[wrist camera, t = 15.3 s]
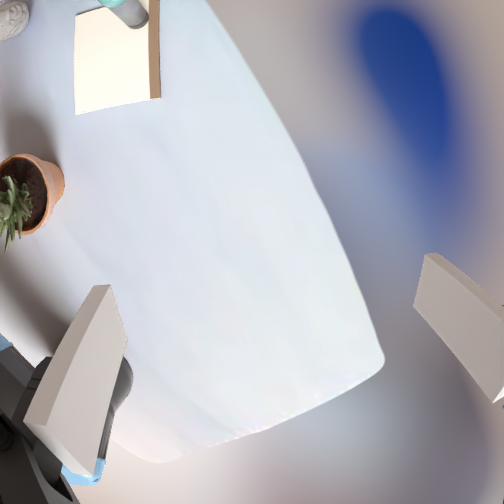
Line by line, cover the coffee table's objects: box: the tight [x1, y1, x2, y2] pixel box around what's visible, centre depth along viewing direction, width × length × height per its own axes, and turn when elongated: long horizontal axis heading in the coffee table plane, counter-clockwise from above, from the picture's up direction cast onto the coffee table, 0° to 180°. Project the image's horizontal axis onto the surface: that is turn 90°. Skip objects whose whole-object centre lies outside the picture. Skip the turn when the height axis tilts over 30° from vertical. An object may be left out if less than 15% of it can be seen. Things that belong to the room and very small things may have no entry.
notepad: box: [74, 0, 161, 115], centre depth 27 cm, size 11×14×1 cm
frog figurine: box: [0, 1, 29, 42], centre depth 19 cm, size 6×7×7 cm
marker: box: [98, 0, 149, 29], centre depth 21 cm, size 3×3×10 cm
